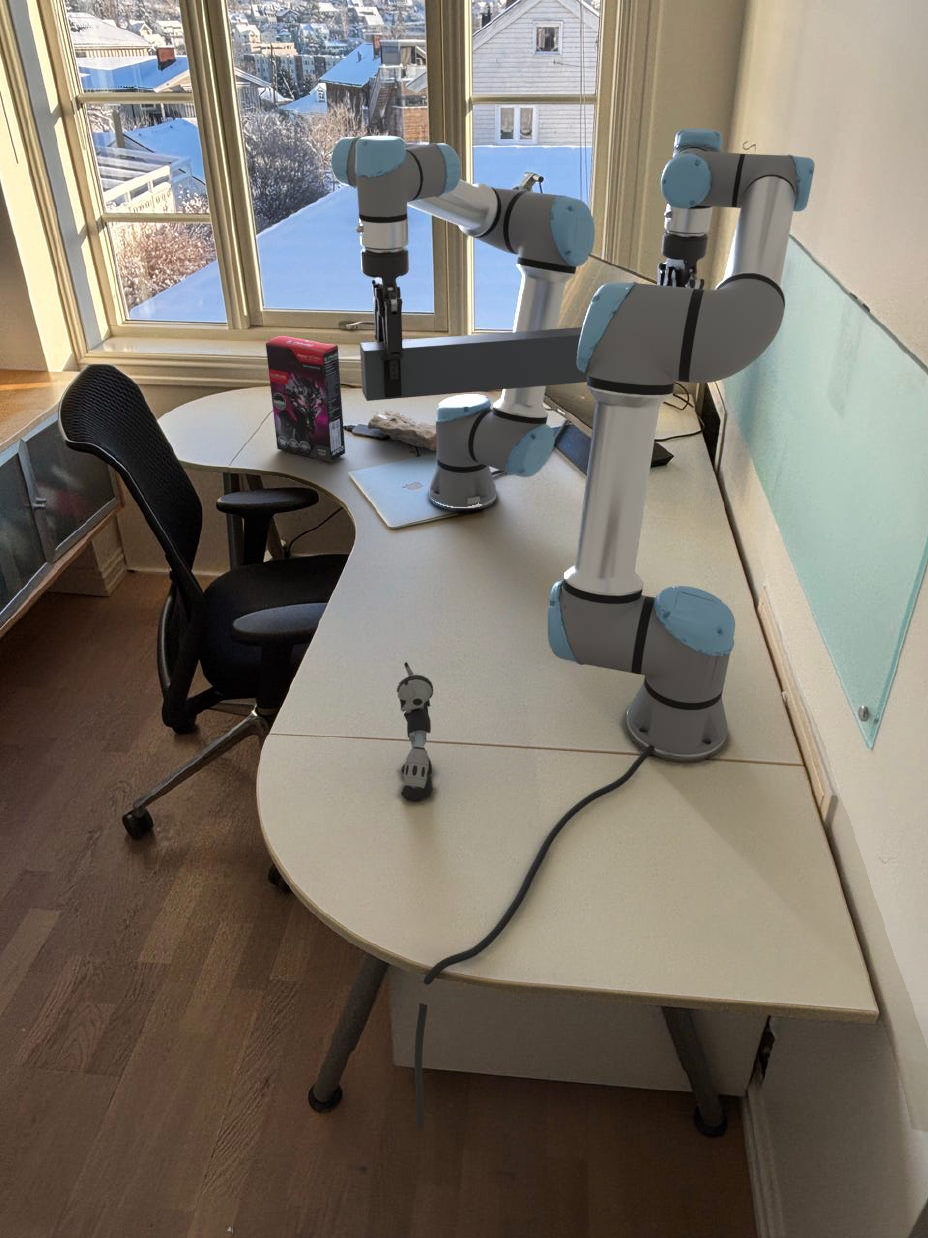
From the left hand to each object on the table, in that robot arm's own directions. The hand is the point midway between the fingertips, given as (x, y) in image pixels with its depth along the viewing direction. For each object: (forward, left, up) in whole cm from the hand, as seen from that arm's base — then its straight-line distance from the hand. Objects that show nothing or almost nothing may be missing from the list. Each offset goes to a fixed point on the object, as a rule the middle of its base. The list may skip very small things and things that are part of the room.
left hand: (390, 390), depth 158 cm
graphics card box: (-52, -40, -38) cm, 76 cm away
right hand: (-26, +45, 0) cm, 52 cm away
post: (-13, +22, -1) cm, 26 cm away
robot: (+52, +21, -38) cm, 68 cm away
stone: (-66, -20, -38) cm, 79 cm away
